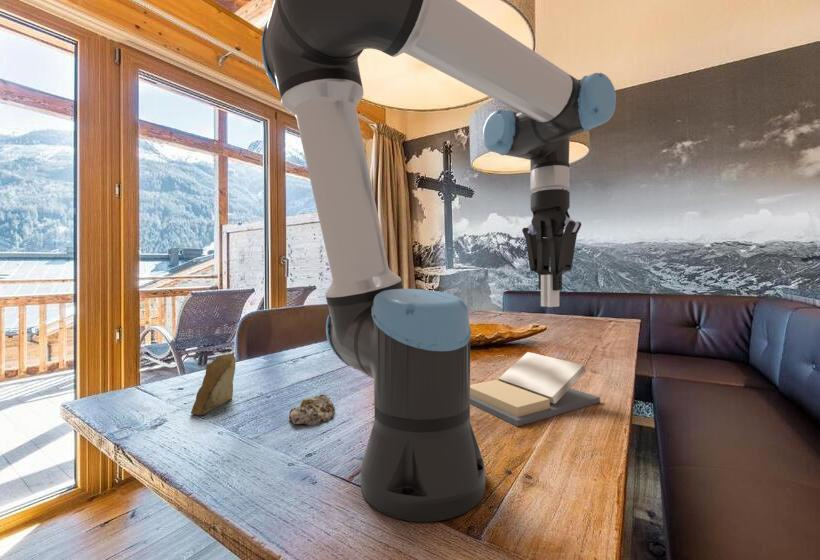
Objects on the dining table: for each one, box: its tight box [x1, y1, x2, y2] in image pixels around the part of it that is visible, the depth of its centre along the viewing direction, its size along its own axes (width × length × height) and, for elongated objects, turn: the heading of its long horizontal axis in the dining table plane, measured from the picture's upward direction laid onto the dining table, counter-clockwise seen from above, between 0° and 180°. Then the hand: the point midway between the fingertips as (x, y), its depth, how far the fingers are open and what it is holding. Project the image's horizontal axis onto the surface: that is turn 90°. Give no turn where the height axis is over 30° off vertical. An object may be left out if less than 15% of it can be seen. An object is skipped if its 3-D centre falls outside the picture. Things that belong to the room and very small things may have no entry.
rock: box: [190, 353, 237, 416], centre depth 73 cm, size 11×9×10 cm
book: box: [497, 351, 587, 404], centre depth 76 cm, size 10×14×2 cm
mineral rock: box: [288, 394, 336, 426], centre depth 68 cm, size 11×4×8 cm
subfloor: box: [470, 379, 601, 427], centre depth 74 cm, size 22×16×3 cm
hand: (550, 306), depth 77 cm, fingers closed
